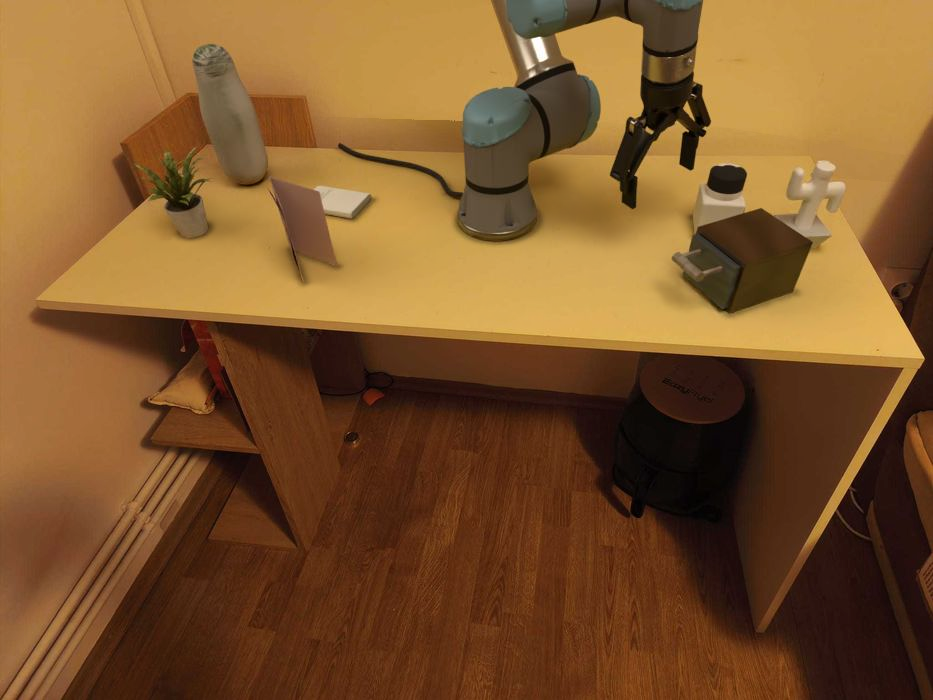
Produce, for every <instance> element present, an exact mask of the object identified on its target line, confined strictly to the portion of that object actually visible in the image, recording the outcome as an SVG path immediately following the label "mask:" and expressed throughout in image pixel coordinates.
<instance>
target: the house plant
mask: <svg viewBox="0 0 933 700" xmlns="http://www.w3.org/2000/svg"><path fill="white" fill-rule="evenodd" d="M197 147H198V145H197V146H194V147H193V148H192V149H191V150H190V151H189V152H188V154H187V156H186V158H183V160H181V161H179V162H178V164H177V163H176V160H175V158H174V156H173V154H172V153H171V151H170V150H169V149H168V148H167V147H166V148H165V150H164V153H163V159H162V158H161V157H160V156H158V155H155V157H156V158H157V159H158V161H159V162H160V163H161V165H162V166H163V168H164V169H165V172H166V175H165V176H164V180H163V179H162V178H161V177H160V176H159V175H158V174H157V173H155V172H154V171H153V170H152V169H150V168H148V167H145V166H142V165H140V164H138V163H132V162H131V164H130V165H133V166H135V167H137V168H138V169H140V170H141V171H143V172H144V173H145V174H146V175H148V176H149V178H151V179H149V178H147V177H142V176H139V177H138V178H139V179H142V180H145V181H147V182H149V183H151V184H153V185H154V186H155V188H150V189H148V192H149V193H151V194H153V195H150V197H149V198H148V201H147V203H149V202H151V201H156V200H159V199H165V200H166V202H165V203H164V206H163V208H164V209H163V210H164V211H165V212H166V214H167V215H168V217H169V218H170V220H171V221H172V223H173V224H174V225H175V227H176V229H177V231H178V232H179V234H180V235H181V236H182V237H184V238H187V239H194V238H198V237H202V236H203V235H205V234H206V233H207V232H208V230H209V225H208V220H207V215H206V210H205V204H204V199H203V197H202V196H201V195H200V194H197V193H198V191H199V190H200V188H201V187H202V186H203V185H204V184H205V183H206V182H210V183H211V182H212V181H211V180H213V179H214V177H209V178H200V179H197V180H195V181H194V182H192V181H193V180H194V177H195V175H196V173H197V172H198V171H200V170H204V169H205V167H199V168H196V169H195V167H196V166H195V165H196V164H197V162H199V161H201V160H202V159H205V158H208V157H209V155H204V156H200V157H198V158H196V159H194V161H192V160H193V158H194V157H195V155H196V153H194V152H195V151H196V149H197ZM191 162H192V163H191ZM182 163H183V166H182V168H181V169H182V171H181V173H179V170H178V167H179V166H180V165H181V164H182ZM194 169H195V170H194ZM193 170H194V171H193ZM197 184H200V185H199V186H198V188H197V189H196V191H195V192H192V190H193V189H194V187H195V186H196V185H197Z"/></svg>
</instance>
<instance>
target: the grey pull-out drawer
mask: <svg viewBox="0 0 933 700" xmlns="http://www.w3.org/2000/svg"><path fill="white" fill-rule="evenodd" d="M690 240H691V241H690V244H689V248H688V252H684V253H681V252H679V251H677V252H674V253H673V254H672V256H671V261H672V262H673V263H674V264H675V265H676V266H678V267H679V268H680V269H681V270H682V271H683V272H682V276H683V277H684V278H686V280H688V281H689V282H690V283H691V284H692V285H693V286H695V287H696V288H698V290H700V291H701V293H703V294H704V296H706V297H707V298H708V299H710V301H712V302H713V303H714V304H715V305H716V306H718V308H720V309H721V310H725V309H724V308H727V307H728V306H729V303H730V300H731V297H732V294H733V291H734V287H735V284H736V281H737V278H738V275H739V272H740V269H741V265H740V264H739V263H737V262H736V261H735V260H733V259H732V258H731V257H730V256H728V255H727V254H726V253H724V252H723V251H722V250H721V249H719V248H718V247H717V246H715V245H714V244H713V243H712V242H710V241H709V240H708V239H707V240H706V239H705V238H704V237H702V236H701V235H700V234H696V235H695V234H693V235H691V239H690Z"/></svg>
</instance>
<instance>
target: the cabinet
mask: <svg viewBox="0 0 933 700" xmlns="http://www.w3.org/2000/svg"><path fill="white" fill-rule="evenodd" d="M696 234H700V235H701V236H702V237H704V238H705V239H706V240H707V239H708V240H709V241H710V242H712V243H713V244H714V245H715V246H717V247H718V248H719V249H721V250H722V251H723V252H724V253H726V254H727V255H728V256H730V257H731V258H732V259H733V260H735V261H736V262H737V263H739V264H740V265H741V269H740V272H739V275H738V278H737V281H736V284H735V287H734V291H733V294H732V297H731V300H730V303H729V306H728V307H727V308H724V309H723V310H724V311H726V312H727V313H728V314H733V313H735V312H738V311H742V310H745V309H747V308H751V307H753V306H756V305H759V304H761V303H765V302H767V301H770V300H771V301H772V300H773V299H777V298H779V297H782V296H785V295H787V294H791V293H793V292H794V290H795V288H796V285H797V282H798V280H799V278H800V275H801V273H802V270H803V268H804V266H805V263H806V260H807V258H808V256H809V253H810V251H811V250H812V249H811V246H812V244H813V242H812V241H810V240H809V239H807V238H806V237H804V236H803V235H801V234H800V233H798V232H797V231H795V230H794V229H792V228H791V227H789V226H788V225H786V224H785V223H783V222H782V221H780V220H779V219H777V218H776V217H774V214H771V213H770V212H768V211H767V210H765V209H764V208H762V207H760V208H759V207H758V208H756V209H753V210H749V211H746V212H744V213H743V214H739V215H736V216H732V217H729V218H726V219H722V220H719V221H716V222H712V223H709V224H706V225H702V226H699V227H697V231H696Z"/></svg>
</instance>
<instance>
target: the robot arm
mask: <svg viewBox="0 0 933 700" xmlns="http://www.w3.org/2000/svg"><path fill="white" fill-rule="evenodd" d="M490 2H491V5H492V8H493V10H494V14H495V17H496V19H497V22H498V25H499V27H500V30H501V31H500V32H501V33H502V37H503V39H504V43H505V45H506V47H507V51H508V53H509V56H510V59H511V62H512V66H513V67H514V71H515V73H516V74H515V75H516V80H515V82H514V84H513V86H503V87H501V88H498V87H493V88H490V89H486V90H483V91H481V92H479V93H478V94H475V95H474V96H473V97H472V98H470V99H469V100H468V101H467V103H466V104H465V106H464V109H463V112H462V128H461V136H462V141H463V157H464V160H463V161H464V175H465V177H464V179H465V185H464V188H463V192H461V191H453V190H452V189H450V187H449V186H448V183H447V181H446V179H445V178H444V177H443V176H442V175H441V174H440V173H438V172H436V171H435V170H432V169H431V168H428V167H426V166H423V165H420V164H417V163H412V162H409V161H405V160H399V159H393V158H386V157H381V156H375V155H370V154H365V153H361V152H358V151H356V150H354V149H351V148H350V147H348V146H346V145H345V144H343V143H341V142H339V143H338V144H337V146H338V148H339V149H341V150H343V151H345V152H346V153H348V154H350V155H352V156H354V157H357V158H359V159H365V160H369V161H374V162H379V163H385V164H390V165H396V166H402V167H407V168H410V169H415V170H418V171H420V172H424V173H426V174H428V175H431V176H432V177H434V178H435V179H437V180H438V182H439V183H440V185H441V186H442V188H443V190H444V192H445V193H446V194H447V195H449V196H450V197H454V198H460V202H459V205H458V210H457V221H458V225H459V227H460V229H461V230H462V231H463V232H464V233H466V234H467V235H469V236H471V237H472V238H476V239H479V240H483V241H490V242H500V241H509V240H514V239H518V238H521V237H522V236H524V235H526V234H528V233H530V232H531V231H532V230H534V227H535V226H536V225H537V222H538V204H539V201H537V202H536V201H535V198H534V195H533V191H532V188H531V185H530V182H529V175H530V174H529V172H530V163H531V162H532V163H533V162H534V161H537V160H540V159H543V158H545V157H548V156H550V155H553V154H556V153H558V152H561V151H564V150H567V149H572V148H574V147H576V146H578V144H581V143H583V142H585V141H586V140H588V139H590V138H591V137H592V135H593V134H594V133H595V132H596V130H597V129H598V125H599V124H598V123H599V121H600V119H601V112H602V104H601V103H602V102H601V97H600V93H599V89H598V88H597V85H596V84H595V82H594V81H593V80H592V79H590V77H589V76H587V75H584V74H580V73H579V74H578V72H577V69H576V66H575V63H574V61H573V60H570V59H569V58H566V57H565V56H564V55H563V54H562V52H561V48H560V45H559V42H558V40H557V37H556V34H559V33H562V32H565V31H569V30H572V29H575V28H579V27H582V26H585V25H590V24H592V23H596V22H600V21H603V20H607V19H609V18H615V17H616V18H621V19H623V20H625V21H627V22H630V23H633V24H634V25H638V26H641V27H642V47H641V49H642V50H641V64H640V65H641V66H640V72H641V75H640V87H639V88H640V91H639V96H640V100H641V103H642V106H643V108H642V111H641V114H640V116H637V117H636V118H634V117H633V116H629V117H628V118H627V119H626V120H625V121H626V122H625V130H624V133H623V136H622V139H621V141H620V144H619V148H618V150H617V152H616V155H615V158H614V161H613V164H612V167H611V170H610V172H609V176H610V177H611V178H612V179H614V181H615V180H616V181H617V182H619V191H620V193H621V204H624V205H625V206H626V207H628V208H630V209H631V210H635V209H636V208H637V197H638V195H637V194H638V176H637V175H636V174H637V172H638V170H639V169H640V166H641V164H642V163H643V161H644V159H645V157H646V155H647V153H648V151H649V150H650V148H651V146H652V144H653V142H657V141H658V139H659V138H660V136H661V134H662V133H663V132H665V131H666V130H667V129H668V128H672V127H673V126H674V125H676V122H678V123H679V124H680V125H681V126H683V128H685V129H686V130H685V131H683V132H682V133H681V135H682V136H681V145H680V151H679V160H678V161H679V164H678V165H680V166H681V167H683V168H684V169H686V170H688V171H690V172H692V171H693V170H694V169H695V164H696V163H695V162H696V156H697V149H698V148H699V143H700V138H704V137H705V136H706V135H707V130H706V129H704V128H705V127H706V128H708V127H709V126H710V125H711V123H712V120H711V117H710V114H709V111H708V108H707V105H706V103H705V100H704V96H703V92H704V91H703V89H704V88H703V87H704V86H703V84H702V83H699V82H696V81H695V80H694V79H695V72H694V70H695V65H696V58H697V57H696V56H697V46H698V42H699V29H700V23H701V17H702V10H703V4H704V0H490ZM686 104H688V107H689V109H690V112H691V115H692V117H693V118H692V117H691V116H690V114H689V113H688V112H687V111H686V110H685V106H686ZM646 129H648V130H650V131H652V133H650V132H648V131H647V130H646ZM536 203H537V204H536Z"/></svg>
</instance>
